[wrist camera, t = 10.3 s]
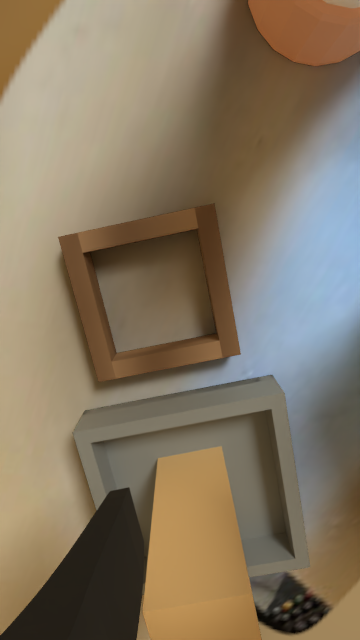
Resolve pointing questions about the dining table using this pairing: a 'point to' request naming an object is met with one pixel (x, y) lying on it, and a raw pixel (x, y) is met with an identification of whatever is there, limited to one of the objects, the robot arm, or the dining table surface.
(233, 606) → the tan rectangular block
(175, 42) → the dining table surface
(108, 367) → the socket collar
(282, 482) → the tray
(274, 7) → the salt shaker
